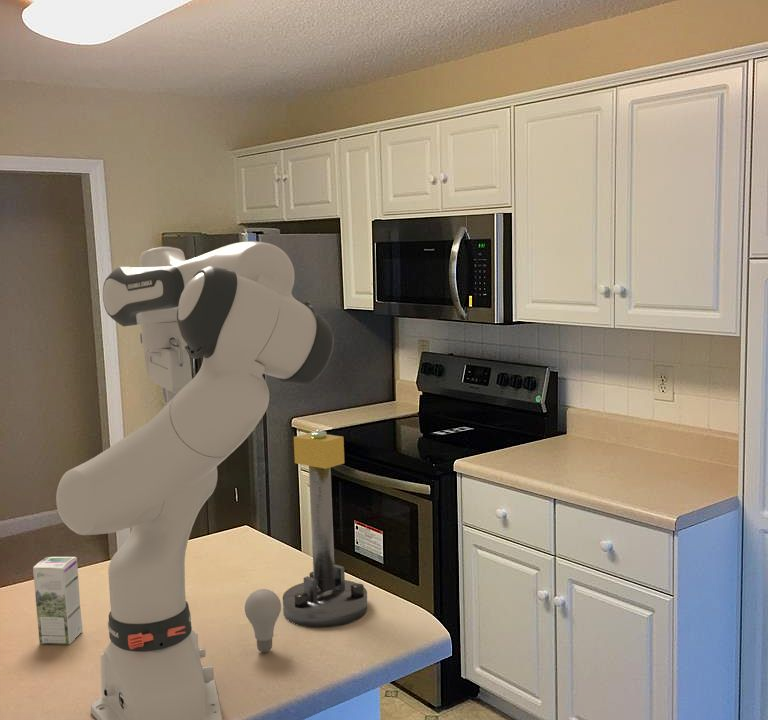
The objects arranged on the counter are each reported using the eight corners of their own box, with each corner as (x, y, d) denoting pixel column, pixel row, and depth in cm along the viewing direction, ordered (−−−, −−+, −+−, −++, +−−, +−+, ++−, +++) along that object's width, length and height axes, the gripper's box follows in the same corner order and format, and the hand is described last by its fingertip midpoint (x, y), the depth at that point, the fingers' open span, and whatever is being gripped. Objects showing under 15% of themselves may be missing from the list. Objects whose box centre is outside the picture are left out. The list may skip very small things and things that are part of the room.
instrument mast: (351, 590, 164) (344, 428, 161) (329, 601, 160) (322, 434, 156) (320, 581, 170) (314, 424, 166) (298, 591, 165) (291, 430, 161)
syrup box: (83, 631, 159) (78, 555, 157) (69, 646, 153) (62, 566, 151) (53, 631, 159) (47, 554, 157) (38, 645, 153) (31, 566, 152)
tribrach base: (384, 606, 166) (383, 568, 165) (327, 635, 154) (325, 595, 153) (324, 587, 176) (322, 552, 175) (265, 613, 164) (263, 576, 163)
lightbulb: (272, 662, 144) (269, 599, 143) (240, 657, 146) (237, 595, 145) (289, 646, 150) (286, 585, 149) (257, 642, 152) (254, 581, 151)
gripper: (198, 339, 152) (203, 417, 153) (170, 331, 170) (175, 401, 171) (162, 342, 149) (167, 421, 151) (138, 334, 167) (142, 405, 169)
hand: (171, 410), depth 161 cm, fingers closed
